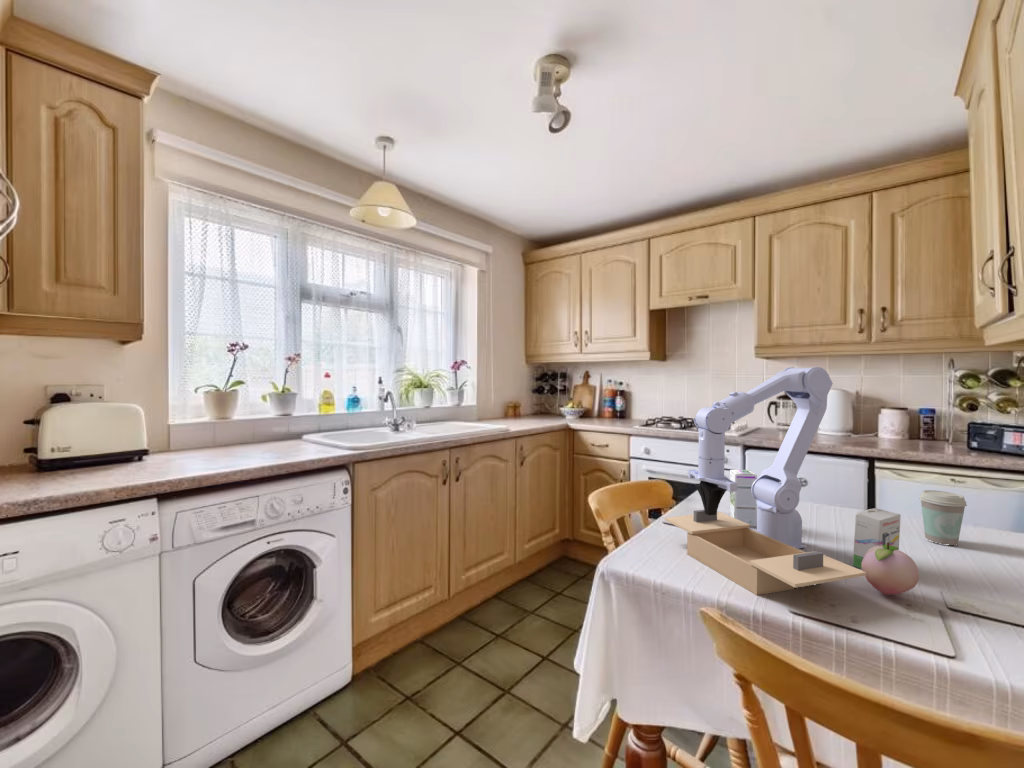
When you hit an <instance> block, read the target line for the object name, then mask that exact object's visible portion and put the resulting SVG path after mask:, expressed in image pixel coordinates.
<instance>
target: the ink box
mask: <svg viewBox="0 0 1024 768" xmlns="http://www.w3.org/2000/svg"><path fill="white" fill-rule="evenodd" d="M854 519H855V521H854V522H855V523H854V540H853V543H854V544H853V559H852V567H855V568H856V567H857V568H858V569H862V567H861V563H862V560H863V557H864V555H865V553H866V552H867V551H868V550H869V549H870V548H872V547H876V546H882V545H887V542H888V543H889V545H891V546H895V547H897V548H898V550H899V551H900V534H901V533H900V532H901V513H895V512H892V511H889V510H886V509H885V510H884V509H880V508H878V507H877V508H876V507H873V508H869V509H865V510H861V511H857V512H856V513H855V518H854Z"/></svg>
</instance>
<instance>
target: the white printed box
mask: <svg viewBox="0 0 1024 768" xmlns="http://www.w3.org/2000/svg"><path fill="white" fill-rule="evenodd" d="M757 478H758V475H757V474H756V473H755V472H753V471H752V470H749V469H742V468H741V469H740V468H739V469H730V470H729V479H730V480H731V481H733V482H736V483H737V491H735V492H729V516H730V517H733V518H735V519H738V520H740V521H743V522H745V523H747V524H750V527H749V528H757V504H756V499H755V498H754V497H753V496H752V493H751V486H752V484H753V482H754V481H755V480H756V479H757Z"/></svg>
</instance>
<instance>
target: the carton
mask: <svg viewBox="0 0 1024 768" xmlns="http://www.w3.org/2000/svg"><path fill="white" fill-rule="evenodd" d="M686 533H687V539H686V540H687V541H686V544H687V547H686V548H687V549H686V555H687V556H690V557H691V558H693V559H695V560H697V561H698V562H699V563H701V564H702V565H703V564H704V565H705V566H706V567H708V568H710V569H712V570H713V571H715V572H716V573H718V574H720V575H722V576H723V577H725V578H727V579H728V580H730V581H732V582H734V583H735V584H737V585H738V586H740V587H742V588H744V589H745V590H747V591H748V592H750V593H752V594H754V595H755V596H760V595H767V594H773V593H777V592H784V591H788V590H790V591H791V590H795V589H794V588H795V587H793V586H791V585H789V584H787V583H785V582H783V581H781V580H779V579H777V578H775V577H774V576H772V575H770V574H768V573H766V572H764V571H762V570H760V569H758V568H756V567H754V566H752V565H750V564H749V561H750V560H757V559H764V558H771V557H778V556H785V555H792V554H799V553H806V551H804V550H801V549H800V548H799V549H797V548H794V547H792V546H790V545H787V544H785V543H783V542H780V541H778V540H775V539H773V538H771V537H768V536H766V535H764V534H761V533H759V532H757V530H754V529H753V528H752V529H751V528H750V527H748V528H740V529H731V530H722V531H714V532H705V533H697V534H691V533H689V532H686ZM820 585H822V584H821V583H820ZM808 587H810V586H809V585H808ZM796 588H797V589H799V588H798V587H796ZM802 588H805V587H804V586H802Z"/></svg>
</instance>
